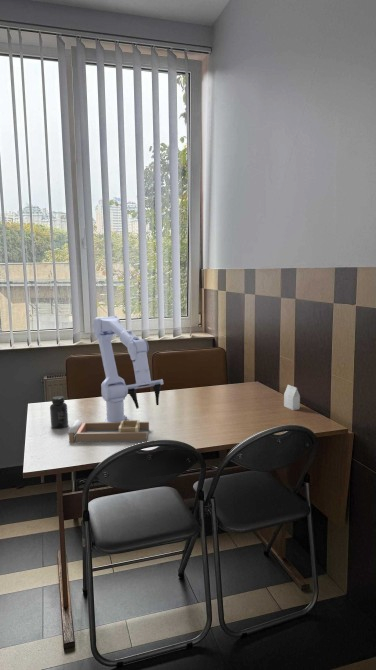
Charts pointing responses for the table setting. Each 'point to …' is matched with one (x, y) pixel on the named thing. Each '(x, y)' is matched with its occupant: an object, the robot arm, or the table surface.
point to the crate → (129, 426)
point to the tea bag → (291, 398)
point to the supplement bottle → (58, 412)
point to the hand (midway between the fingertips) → (147, 406)
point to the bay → (105, 432)
